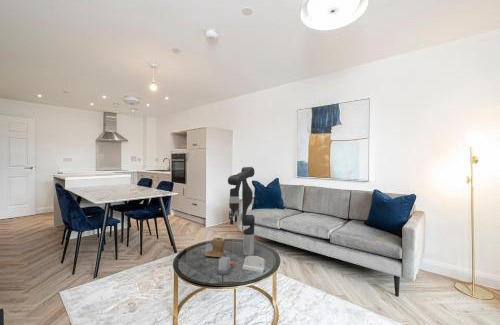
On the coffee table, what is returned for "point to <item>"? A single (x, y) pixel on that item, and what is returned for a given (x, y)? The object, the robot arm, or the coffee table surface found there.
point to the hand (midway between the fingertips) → (233, 223)
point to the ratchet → (222, 272)
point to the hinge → (254, 263)
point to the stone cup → (216, 248)
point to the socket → (224, 263)
